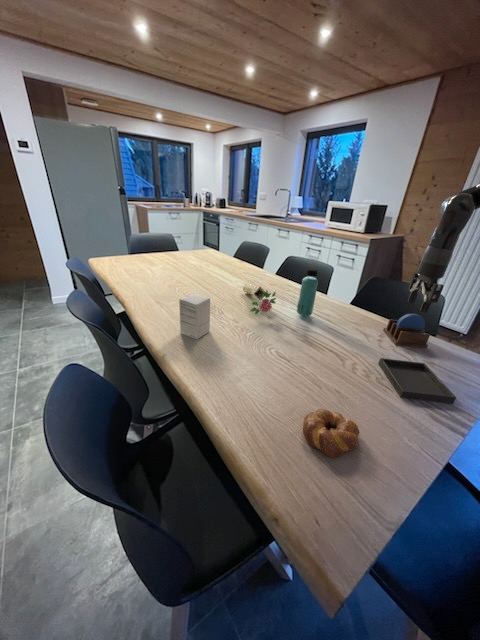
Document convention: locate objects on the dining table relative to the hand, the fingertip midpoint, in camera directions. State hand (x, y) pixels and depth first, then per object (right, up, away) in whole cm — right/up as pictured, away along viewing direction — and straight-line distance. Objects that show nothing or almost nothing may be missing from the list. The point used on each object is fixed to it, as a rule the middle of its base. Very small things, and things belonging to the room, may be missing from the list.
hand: (416, 307), depth 93 cm
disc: (0, -6, +3) cm, 7 cm away
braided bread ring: (-43, -29, -37) cm, 64 cm away
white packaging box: (-78, -9, -2) cm, 78 cm away
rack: (-1, -12, +6) cm, 13 cm away
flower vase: (-55, +1, +23) cm, 60 cm away
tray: (-13, -22, -18) cm, 32 cm away
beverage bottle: (-36, -3, +17) cm, 40 cm away
